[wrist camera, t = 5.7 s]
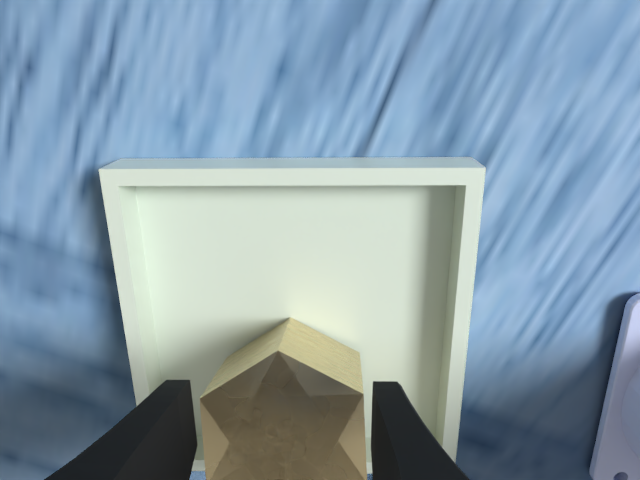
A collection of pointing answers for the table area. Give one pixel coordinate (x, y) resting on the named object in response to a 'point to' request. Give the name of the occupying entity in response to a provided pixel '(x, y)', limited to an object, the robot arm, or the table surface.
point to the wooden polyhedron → (286, 410)
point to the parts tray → (299, 268)
